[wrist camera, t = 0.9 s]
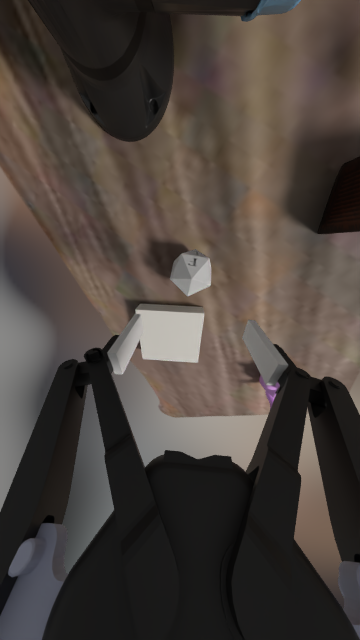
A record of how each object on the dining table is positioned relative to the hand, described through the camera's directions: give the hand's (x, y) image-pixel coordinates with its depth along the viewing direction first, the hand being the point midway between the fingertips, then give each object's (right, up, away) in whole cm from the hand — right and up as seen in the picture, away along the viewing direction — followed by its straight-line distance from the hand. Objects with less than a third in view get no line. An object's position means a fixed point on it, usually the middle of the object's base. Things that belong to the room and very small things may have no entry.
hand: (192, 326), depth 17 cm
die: (+1, +13, +17) cm, 21 cm away
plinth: (-4, -3, +26) cm, 27 cm away
